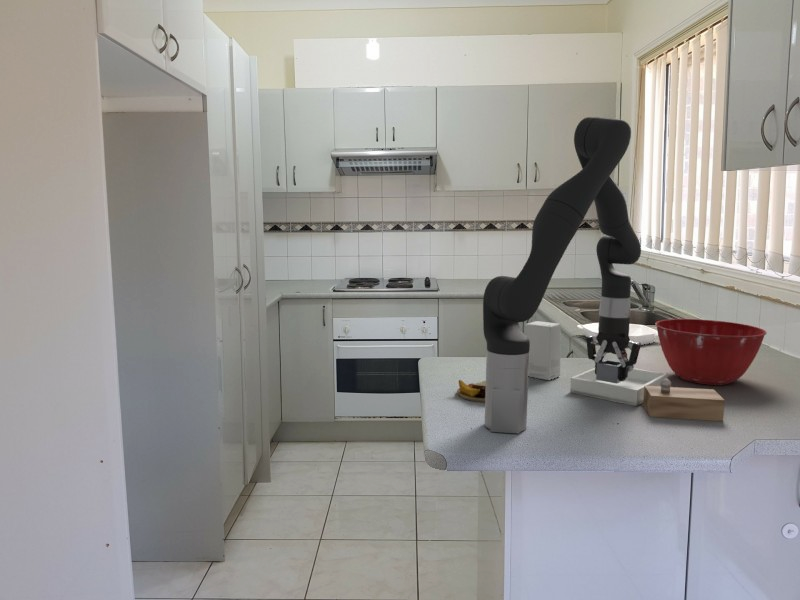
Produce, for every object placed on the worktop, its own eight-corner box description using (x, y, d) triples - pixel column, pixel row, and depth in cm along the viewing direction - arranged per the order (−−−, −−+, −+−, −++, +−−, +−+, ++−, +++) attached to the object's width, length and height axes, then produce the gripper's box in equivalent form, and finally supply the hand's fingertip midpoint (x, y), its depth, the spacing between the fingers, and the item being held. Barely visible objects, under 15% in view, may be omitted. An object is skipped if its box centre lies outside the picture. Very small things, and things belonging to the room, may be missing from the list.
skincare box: (560, 377, 188) (563, 323, 186) (548, 381, 184) (551, 326, 181) (535, 372, 194) (537, 320, 192) (522, 376, 189) (524, 322, 187)
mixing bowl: (657, 362, 207) (661, 314, 205) (760, 374, 194) (765, 323, 192) (645, 383, 182) (649, 329, 180) (762, 398, 169) (768, 339, 167)
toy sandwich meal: (485, 387, 178) (486, 370, 177) (518, 400, 167) (519, 382, 166) (447, 393, 172) (447, 376, 171) (478, 407, 160) (479, 388, 160)
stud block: (723, 421, 151) (725, 387, 150) (649, 416, 154) (652, 382, 153) (712, 409, 160) (714, 377, 159) (643, 405, 163) (645, 373, 161)
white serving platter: (569, 342, 239) (570, 330, 238) (582, 330, 261) (583, 319, 260) (659, 351, 225) (660, 338, 225) (665, 338, 247) (666, 326, 247)
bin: (636, 406, 162) (637, 390, 161) (570, 392, 173) (570, 377, 172) (666, 388, 178) (667, 373, 177) (604, 376, 189) (605, 363, 189)
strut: (640, 372, 179) (641, 356, 178) (616, 383, 167) (617, 366, 166) (620, 368, 182) (621, 353, 182) (596, 379, 170) (596, 363, 170)
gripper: (648, 315, 166) (643, 380, 169) (594, 309, 176) (590, 371, 178) (636, 319, 161) (632, 386, 163) (581, 312, 170) (578, 376, 172)
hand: (610, 378), depth 171 cm, fingers closed on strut, 5 cm apart
